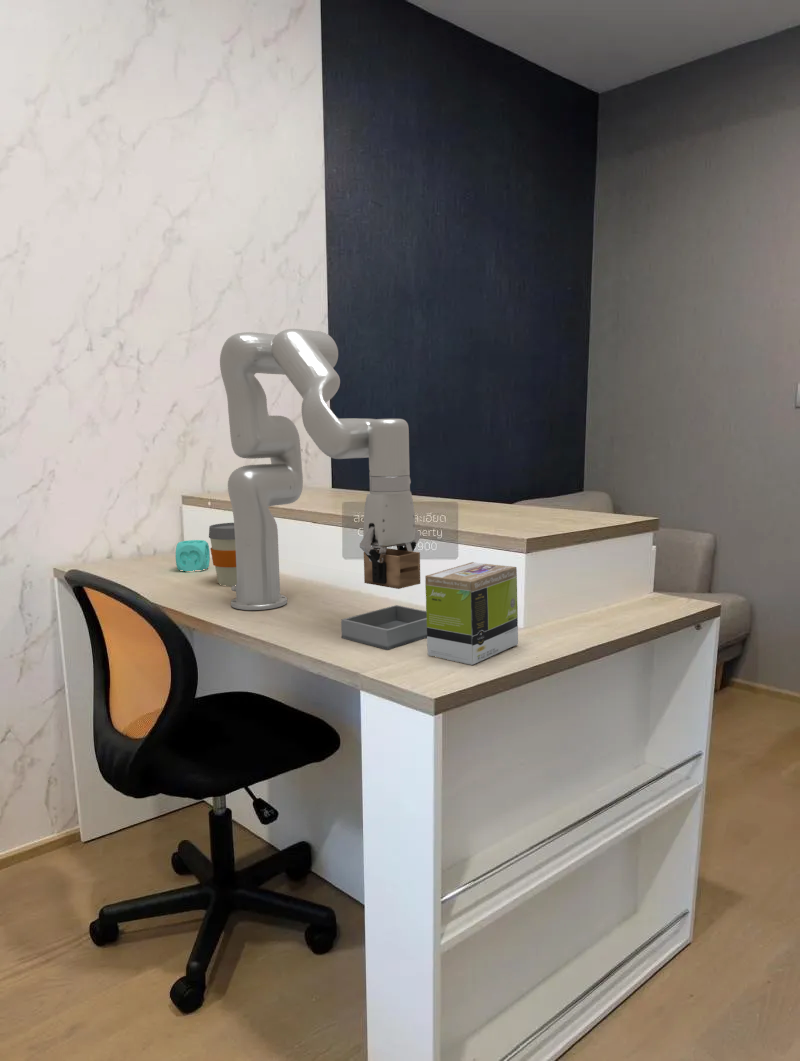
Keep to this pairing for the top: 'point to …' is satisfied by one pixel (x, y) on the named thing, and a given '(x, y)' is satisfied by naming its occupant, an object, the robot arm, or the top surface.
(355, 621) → the grey tray
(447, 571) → the tea box
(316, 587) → the top surface
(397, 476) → the robot arm
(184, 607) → the top surface
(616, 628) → the top surface
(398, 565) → the small crate
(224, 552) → the reusable coffee cup
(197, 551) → the decorative dice
